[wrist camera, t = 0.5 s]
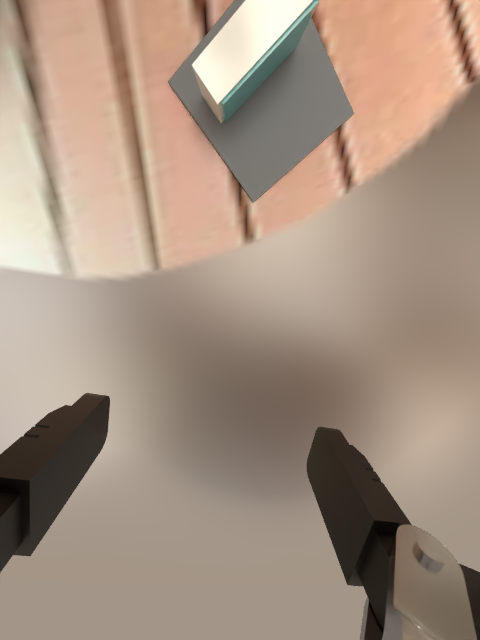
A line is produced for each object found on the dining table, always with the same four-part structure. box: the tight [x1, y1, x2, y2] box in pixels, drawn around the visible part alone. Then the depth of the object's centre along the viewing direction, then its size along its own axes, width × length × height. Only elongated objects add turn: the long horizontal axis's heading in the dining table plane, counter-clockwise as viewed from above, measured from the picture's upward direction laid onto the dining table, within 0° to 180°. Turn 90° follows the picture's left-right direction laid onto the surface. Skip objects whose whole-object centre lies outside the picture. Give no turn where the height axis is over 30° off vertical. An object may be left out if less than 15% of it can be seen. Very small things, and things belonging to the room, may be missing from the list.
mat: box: [168, 0, 354, 202], centre depth 26 cm, size 14×14×1 cm
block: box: [192, 0, 319, 123], centre depth 22 cm, size 3×10×8 cm, turn 129°
